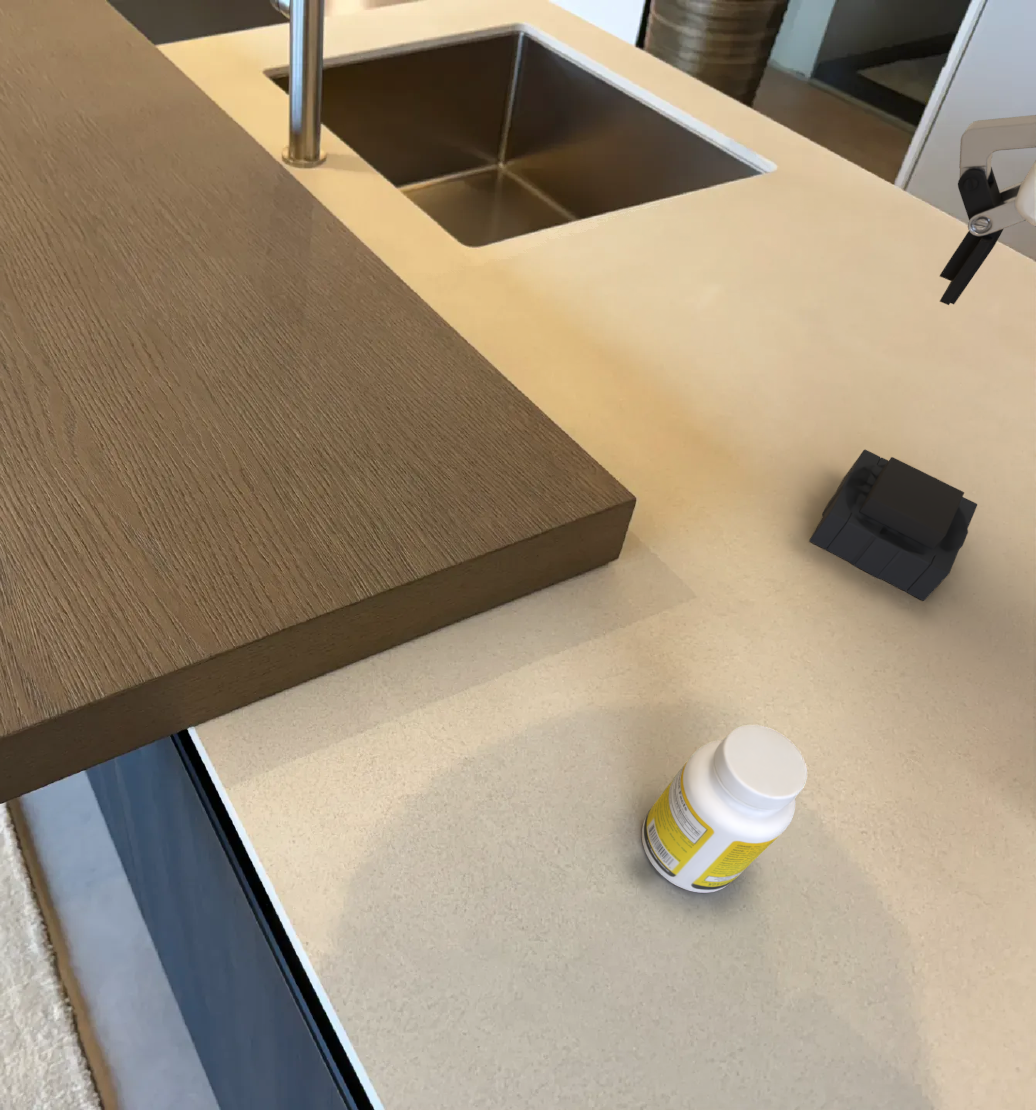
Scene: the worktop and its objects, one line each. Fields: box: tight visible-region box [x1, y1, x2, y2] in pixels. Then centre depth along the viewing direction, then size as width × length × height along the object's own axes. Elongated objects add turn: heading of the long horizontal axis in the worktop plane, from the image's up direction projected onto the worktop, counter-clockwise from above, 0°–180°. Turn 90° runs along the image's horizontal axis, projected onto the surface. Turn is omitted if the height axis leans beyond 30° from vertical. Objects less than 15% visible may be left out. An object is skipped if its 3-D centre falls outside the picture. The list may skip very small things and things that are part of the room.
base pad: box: [809, 449, 978, 602], centre depth 72 cm, size 8×8×3 cm
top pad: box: [859, 456, 965, 549], centre depth 71 cm, size 5×5×4 cm
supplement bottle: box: [641, 723, 808, 894], centre depth 53 cm, size 5×5×10 cm
